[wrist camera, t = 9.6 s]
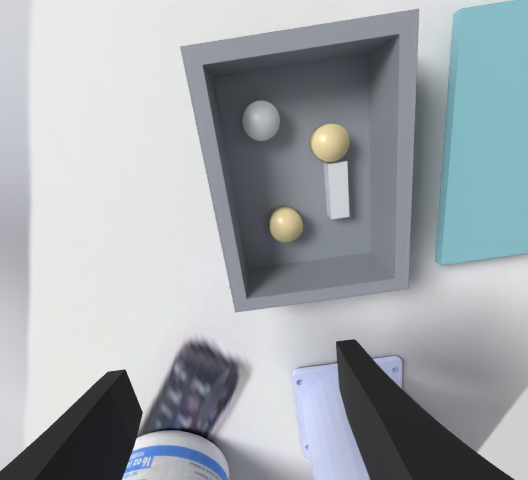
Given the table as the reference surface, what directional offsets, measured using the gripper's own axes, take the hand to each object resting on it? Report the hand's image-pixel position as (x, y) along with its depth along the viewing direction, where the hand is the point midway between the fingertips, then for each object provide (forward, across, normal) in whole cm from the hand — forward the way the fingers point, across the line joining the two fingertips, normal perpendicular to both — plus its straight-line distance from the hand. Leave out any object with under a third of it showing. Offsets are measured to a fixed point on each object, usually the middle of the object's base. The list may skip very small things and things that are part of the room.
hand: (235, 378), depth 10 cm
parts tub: (+9, -4, -5) cm, 11 cm away
